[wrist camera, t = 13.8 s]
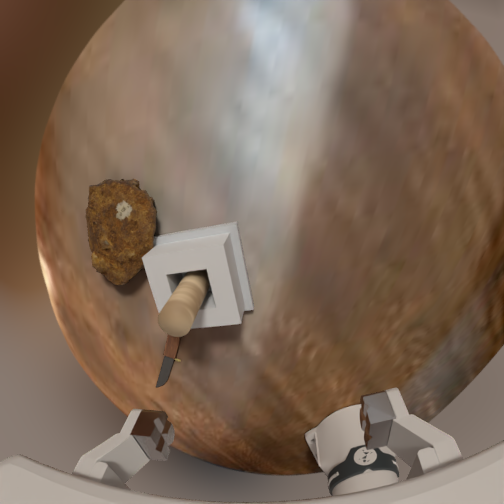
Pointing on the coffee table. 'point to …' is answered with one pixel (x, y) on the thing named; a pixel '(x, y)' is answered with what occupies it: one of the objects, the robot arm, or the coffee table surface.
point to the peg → (184, 303)
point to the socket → (198, 258)
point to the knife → (168, 359)
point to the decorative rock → (119, 228)
